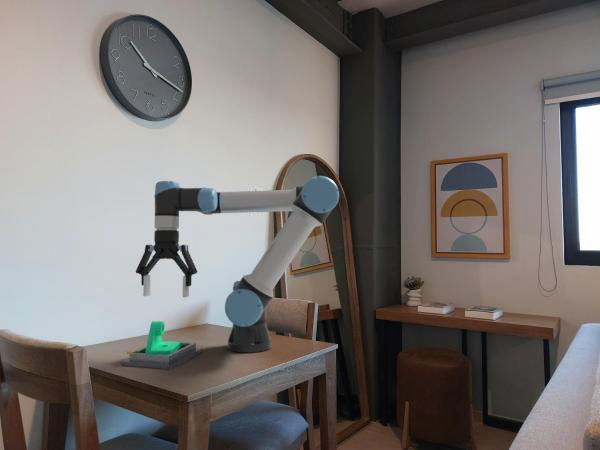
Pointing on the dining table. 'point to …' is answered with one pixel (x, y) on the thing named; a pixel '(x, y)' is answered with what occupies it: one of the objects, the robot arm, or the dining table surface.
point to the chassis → (162, 357)
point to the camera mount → (159, 340)
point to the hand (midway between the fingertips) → (166, 296)
